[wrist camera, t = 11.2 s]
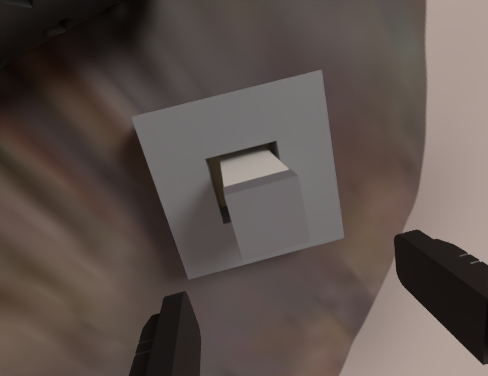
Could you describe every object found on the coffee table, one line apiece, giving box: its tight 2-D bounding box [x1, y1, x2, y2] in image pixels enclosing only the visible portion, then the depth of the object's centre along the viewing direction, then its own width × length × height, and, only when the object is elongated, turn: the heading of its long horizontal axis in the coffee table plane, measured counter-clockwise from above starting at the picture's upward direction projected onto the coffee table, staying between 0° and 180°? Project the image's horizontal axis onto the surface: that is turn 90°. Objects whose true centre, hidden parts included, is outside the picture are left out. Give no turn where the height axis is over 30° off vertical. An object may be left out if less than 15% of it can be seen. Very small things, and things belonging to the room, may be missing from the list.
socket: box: [131, 70, 344, 280], centre depth 25 cm, size 14×14×6 cm
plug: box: [219, 145, 311, 260], centre depth 21 cm, size 4×4×11 cm
